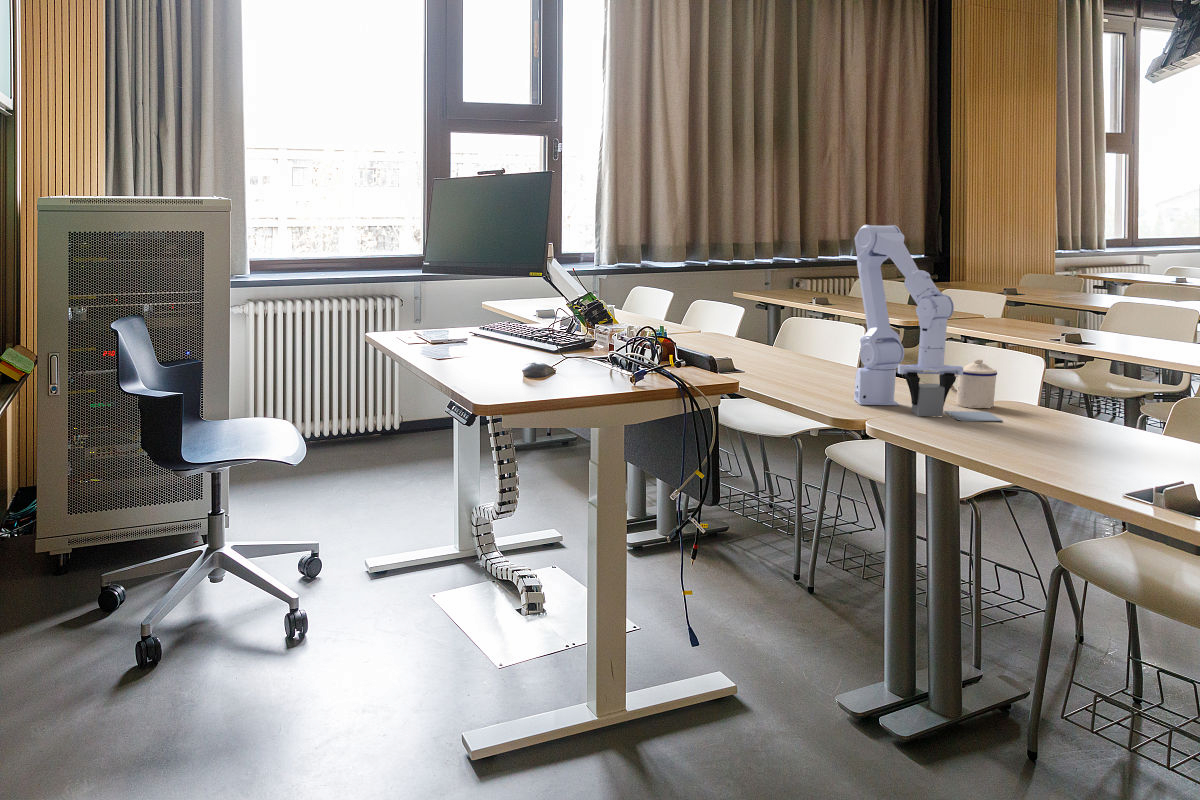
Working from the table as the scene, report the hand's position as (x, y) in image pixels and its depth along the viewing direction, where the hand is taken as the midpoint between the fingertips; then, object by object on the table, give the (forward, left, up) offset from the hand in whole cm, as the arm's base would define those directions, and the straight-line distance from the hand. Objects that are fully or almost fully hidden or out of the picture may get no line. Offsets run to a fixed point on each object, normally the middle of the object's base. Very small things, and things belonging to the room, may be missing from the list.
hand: (927, 404), depth 222 cm
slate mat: (+10, -2, -2) cm, 10 cm away
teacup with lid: (+14, +14, -3) cm, 20 cm away
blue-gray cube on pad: (0, 0, -2) cm, 2 cm away
